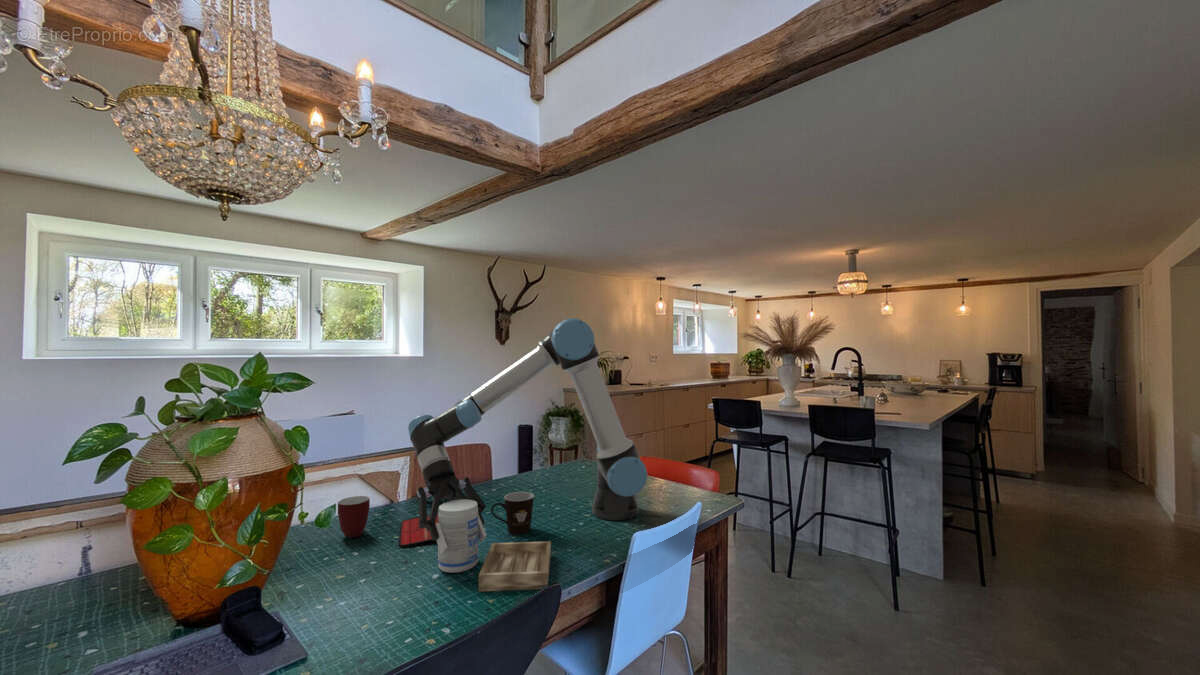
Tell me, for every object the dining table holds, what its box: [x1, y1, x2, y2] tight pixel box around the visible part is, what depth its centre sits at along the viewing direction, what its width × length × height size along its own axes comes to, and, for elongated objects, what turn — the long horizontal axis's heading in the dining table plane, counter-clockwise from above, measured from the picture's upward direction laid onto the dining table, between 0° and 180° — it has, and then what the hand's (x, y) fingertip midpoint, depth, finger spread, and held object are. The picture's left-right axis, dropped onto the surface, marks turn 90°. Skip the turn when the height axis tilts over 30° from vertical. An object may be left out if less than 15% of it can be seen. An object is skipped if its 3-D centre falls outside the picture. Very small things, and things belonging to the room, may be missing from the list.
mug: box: [337, 495, 371, 538], centre depth 133 cm, size 11×8×10 cm
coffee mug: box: [490, 491, 535, 536], centre depth 135 cm, size 12×9×10 cm
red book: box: [397, 513, 438, 549], centre depth 136 cm, size 16×2×21 cm
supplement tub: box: [437, 499, 479, 574], centre depth 114 cm, size 10×10×15 cm
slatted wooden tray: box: [478, 540, 552, 593], centre depth 110 cm, size 15×17×4 cm
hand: (464, 544), depth 111 cm, fingers closed on supplement tub, 9 cm apart
